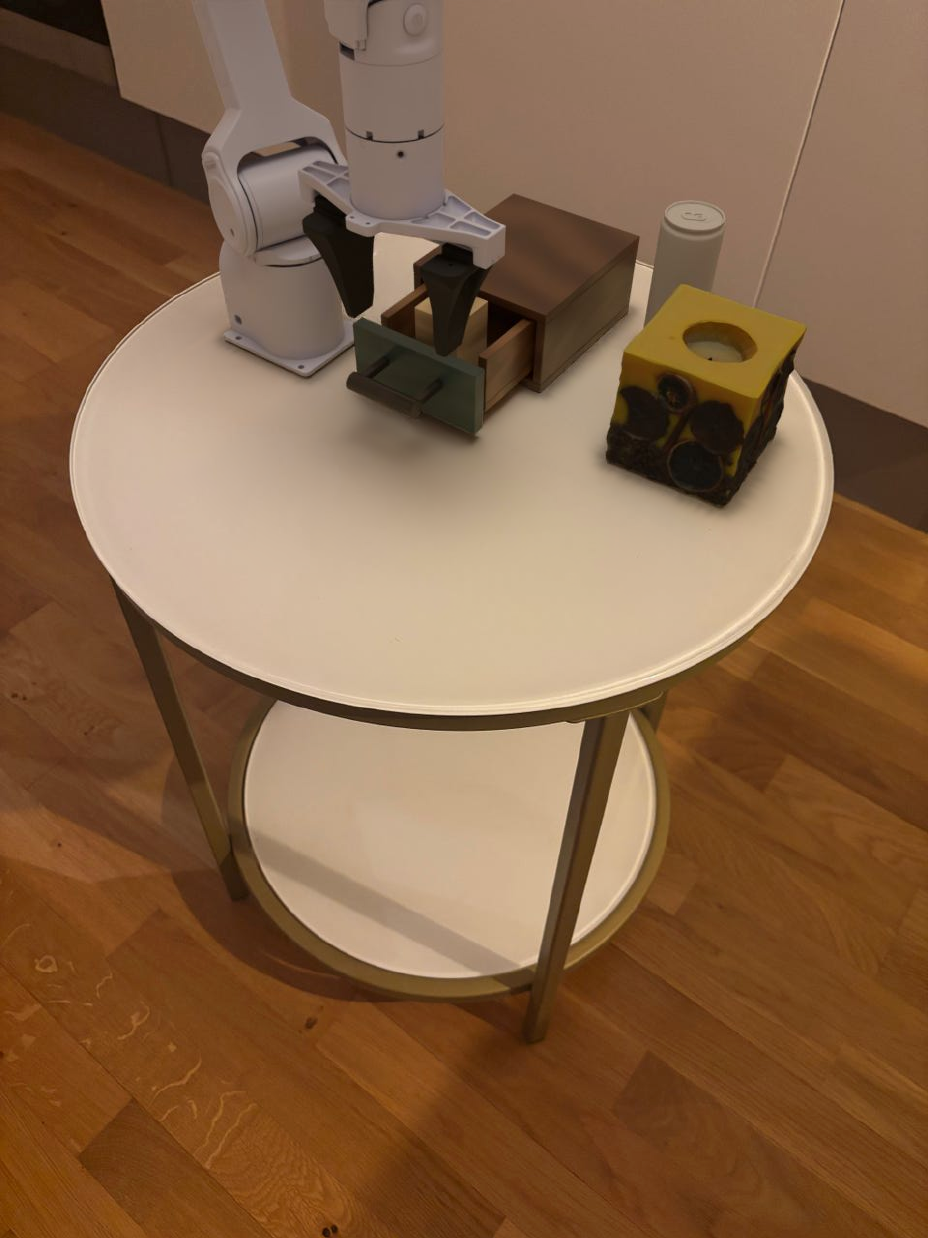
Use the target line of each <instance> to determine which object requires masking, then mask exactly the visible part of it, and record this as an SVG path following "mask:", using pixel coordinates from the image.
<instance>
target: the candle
mask: <svg viewBox="0 0 928 1238" xmlns="http://www.w3.org/2000/svg"><path fill="white" fill-rule="evenodd" d="M643 327H644V326H643ZM807 329H808V326H807V325H806V324H803V323H802V322H801V321H797V320H794V319H790V318H786V317H783V316H780V315H775V314H772V313H769V312H767V311H764V310H762V309H759V308H756V307H753V306H749V305H746V304H743V303H740V302H737V301H734V300H731V299H729V298H726V297H723V296H720V295H717V294H715V293H712V292H711V293H710V292H706V291H703V290H700V289H697V288H695V287H692V286H689V285H686V284H680V285H679V286H678V287H677V288H676V290H675V291H674V292H673V294H672V295H671V296H670V297H669V298H668V300H667V301H666V302H665V303H664V305H663V306H662V307H661V309H660V310H659V311H658V312H657V313H656V315H655V316H654V317H653V318H652V319H651V320H650V322H649V323H648V324H647V325H646V326H645V327H644V328H642V330H641V331H640V332H638V334H637V335H636V336H635V337H634V338H633V339H632V340H631V341H630V342H629V343H628V345H627V346H626V347H625V348H624V350H623V351H622V358H621V363H620V365H621V367H620V368H621V369H620V370H621V371H620V374H619V378H618V380H619V383H618V387H617V390H616V395H615V402H614V407H613V411H612V415H611V418H610V420H609V427H608V430H607V433H606V438H605V439H606V446H607V447H606V451H605V458H606V460H607V461H608V462H609V463H610V464H615V465H618V466H621V467H622V468H624V469H626V470H628V471H631V472H634V473H637V474H639V475H643V476H645V477H646V478H647V479H649V480H651V481H655V482H657V483H660V484H663V485H665V486H667V487H670V488H672V489H673V488H674V489H676V490H679V491H682V492H683V493H685V494H686V495H691V496H696V497H697V498H699V499H701V500H703V501H705V502H707V503H710V504H712V505H714V506H716V507H721V508H723V507H725V506H727V504H728V503H729V502H730V501H731V500H732V499H733V497H734V495H735V493H737V492H738V491H739V490H740V488H741V486H742V484H743V482H745V480H746V478H747V477H748V474H749V473H750V472H751V471H752V470H753V468H754V466H755V465H757V464H758V461H757V460H758V459H759V458H760V456H761V454H762V453H763V452H764V451H765V449H766V447H767V446H768V444H769V443H770V442H771V441H772V440H774V439H775V437H776V434H777V429H778V425H779V422H780V420H781V417H782V416H783V412H784V409H785V400H784V399H785V395H786V391H787V388H788V387H787V386H788V383H789V378H790V375H791V374H792V373H793V372H794V371H795V361H794V359H795V357H796V354H797V351H798V349H799V348H800V345H801V344H802V341H803V339H804V337H805V334H806V332H807Z"/></svg>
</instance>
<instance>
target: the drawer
mask: <svg viewBox="0 0 928 1238" xmlns="http://www.w3.org/2000/svg"><path fill="white" fill-rule="evenodd" d="M428 297H429V295H428V292H427V289H426V286H425V283H423V284H422V285H421V286H419V287H418V288H417V289H415V290H414V289H413V290H412V291H411V292H410V293H407V295H405V296H404V297H403V298H401V299H400V300H398V301H397V302H396V303H394V304H393V305H391V306H390V307H389V308H387V309H386V310H385V311H383V312H382V313H381V314H380V324H379V323H377V322H376V321H375V322H374V321H372V320H370V319H368V318H366V317H363V316H362V317H360V318H359V319H357V320H356V321H355V322H353V336H354V344H353V345H354V356H355V358H354V359H355V367H356V371H352V372H350V373H349V375H348V376H347V379H346V382H345V386H346V389H348V390H349V391H351V392H353V393H355V394H358V395H360V396H362V397H364V398H366V399H369V400H371V401H373V402H375V403H377V404H379V405H381V406H383V407H386V408H388V409H390V410H392V411H394V412H397V413H399V414H400V415H403V416H405V417H407V418H409V419H412V420H415V419H417V418H418V417H419V415H420V414H421V412H422V413H424V414H426V415H429V416H431V417H434V418H435V419H438V420H440V421H442V422H444V423H446V424H448V425H451V426H453V427H455V428H457V429H459V430H462V431H464V432H466V433H468V434H469V435H472V436H475V435H476V434H477V433H478V432H480V431H481V430H482V429H483V428H484V413H487V411H488V410H490V409H491V408H492V407H493V406H494V405H495V404H497V403H498V402H499V401H500V400H501V399H502V398H503V397H504V396H505V395H506V394H508V393H509V392H510V391H511V390H513V388H514V387H516V386H517V385H519V384H518V383H519V382H520V381H521V380H522V379H523V378H524V377H525V376H527V375H528V374H529V373H530V372H531V371H532V370H533V369H534V355H535V342H536V328H537V321H536V320H533V319H530V318H528V317H525V316H523V315H520V314H518V313H515V312H513V311H510V310H508V309H505V308H502V307H500V306H497V305H495V304H492V303H490V302H488V318H487V349H486V350H485V351H484V352H482V353H481V354H480V355H479V356H478V366H476V365H473V364H471V363H469V362H466V361H464V360H462V359H459V358H457V357H455V356H452V355H450V354H449V355H448V356H447V357H442V356H440V355H438V354H436V350H435V348H434V347H431V346H429V345H426V344H424V343H422V342H419V341H417V340H416V335H415V307H416V306H417V305H419V304H420V303H421V302H423V301H424V300H425V299H427V298H428Z"/></svg>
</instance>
